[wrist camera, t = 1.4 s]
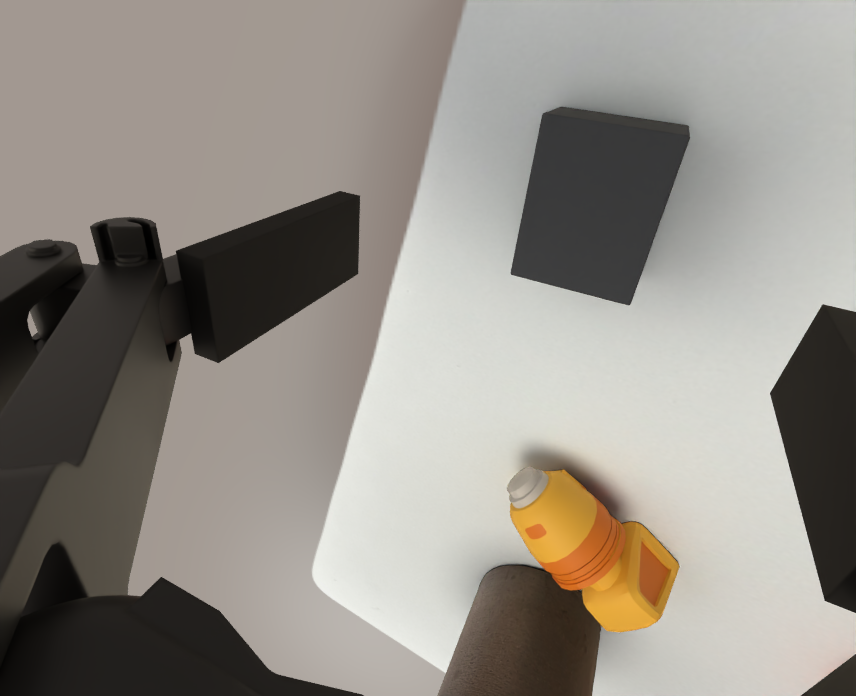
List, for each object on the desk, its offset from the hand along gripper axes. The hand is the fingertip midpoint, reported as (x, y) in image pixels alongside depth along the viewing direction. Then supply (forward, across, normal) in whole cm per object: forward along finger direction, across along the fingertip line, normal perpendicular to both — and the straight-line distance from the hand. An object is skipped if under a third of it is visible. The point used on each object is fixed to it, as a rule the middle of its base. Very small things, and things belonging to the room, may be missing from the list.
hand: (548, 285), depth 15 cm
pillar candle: (+12, +4, -32) cm, 34 cm away
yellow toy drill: (+12, +5, -20) cm, 23 cm away
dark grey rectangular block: (+11, 0, 0) cm, 11 cm away
